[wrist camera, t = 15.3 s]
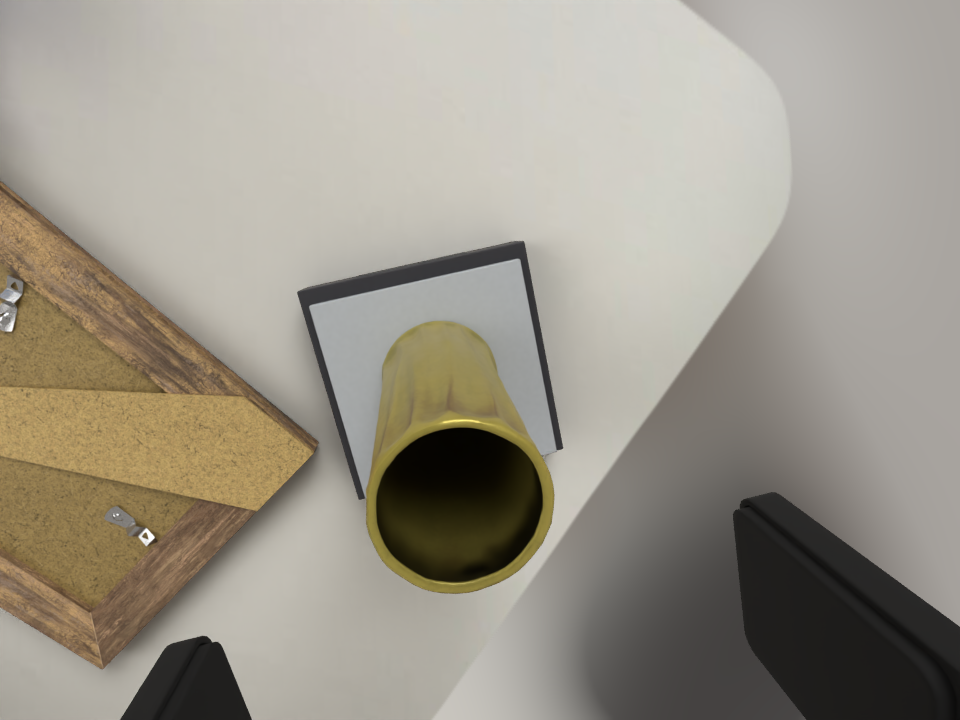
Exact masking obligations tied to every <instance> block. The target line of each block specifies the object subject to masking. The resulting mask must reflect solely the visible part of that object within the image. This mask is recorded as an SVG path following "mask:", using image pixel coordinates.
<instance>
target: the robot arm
mask: <svg viewBox="0 0 960 720" xmlns="http://www.w3.org/2000/svg"><path fill="white" fill-rule="evenodd" d="M733 521H734V531H735V541H736V550H737V560H738V571H739V580H740V590H741V600H742V610H743V620H744V629H745V635H746V638H747V640H748V643H749V645H750V647H751V649H752V651H753V652H754V653H755V655H756V656H757V657H758V659H759V660H760V661H761V663H762V664H763V665H764V666H765V668H766V669H767V670H768V671H769V673H770V674H771V675H772V677H773V678H774V679H775V680H776V682H777V683H778V684H779V685H780V687H781V688H782V689H783V690H784V692H785V693H786V694H787V696H788V697H789V698H790V699H791V701H792V702H793V703H794V704H795V706H796V707H797V708H798V710H799V711H800V712H801V713H802V714H803V716H804V717H805V718H806V720H960V627H959V626H958V625H957V624H955V623H954V622H953V621H951V620H950V619H949V618H947V617H946V616H944V615H943V614H941V613H940V612H939V611H938V610H936V609H935V608H933V607H932V606H931V605H929V604H928V603H927V602H925V601H924V600H923V599H921V598H920V597H918V596H917V595H916V594H914V593H913V592H912V591H910V590H909V589H907V588H906V587H905V586H904V585H902V584H901V583H899V582H898V581H897V580H895V579H894V578H893V577H891V576H890V575H889V574H887V573H886V572H884V571H883V570H882V569H880V568H879V567H878V566H876V565H875V564H874V563H872V562H871V561H869V560H868V559H867V558H865V557H864V556H862V555H861V554H860V553H858V552H857V551H856V550H854V549H853V548H852V547H850V546H849V545H847V544H846V543H845V542H843V541H842V540H841V539H839V538H838V537H837V536H835V535H834V534H833V533H831V532H830V531H829V530H827V529H826V528H824V527H823V526H822V525H820V524H819V523H818V522H816V521H815V520H813V519H812V518H811V517H809V516H808V515H807V514H805V513H804V512H803V511H801V510H800V509H799V508H797V507H796V506H794V505H793V504H792V503H790V502H789V501H788V500H786V499H785V498H784V497H782V496H781V495H779V494H777V493H775V492H771V493H767V494H763V495H759V496H755V497H751V498H747V499H744V500H742V501H741V504H740V509H738V510H735V512H734V514H733ZM120 720H252V719H251V716H250V714H249V711H248V709H247V707H246V704H245V702H244V699H243V697H242V694H241V692H240V689H239V687H238V684H237V682H236V679H235V677H234V675H233V672H232V670H231V667H230V665H229V662H228V660H227V657H226V655H225V652H224V650H223V648H222V646H221V644H220V643H218V642H213V643H212V641H211V640H210V639H209V638H208V637H207V636H200V637H196V638H192V639H188V640H184V641H180V642H176V643H173V644H170V645H168V646H167V647H166V648H165V649H164V651H163V652H162V654H161V655H160V657H159V659H158V660H157V662H156V663H155V665H154V667H153V668H152V670H151V671H150V673H149V675H148V676H147V678H146V679H145V681H144V683H143V684H142V686H141V687H140V689H139V691H138V692H137V694H136V695H135V697H134V699H133V700H132V702H131V703H130V705H129V707H128V708H127V710H126V711H125V713H124V715H123V716H122V718H121V719H120Z"/></svg>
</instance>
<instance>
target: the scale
mask: <svg viewBox="0 0 960 720" xmlns="http://www.w3.org/2000/svg"><path fill="white" fill-rule="evenodd" d="M297 294H298V297H299V300H300V304H301V307H302V310H303V314H304V317H305V320H306V324H307V327H308V331H309V334H310V337H311V341H312V344H313V347H314V351H315V354H316V357H317V361H318V364H319V368H320V371H321V374H322V378H323V381H324V384H325V388H326V391H327V394H328V398H329V401H330V405H331V408H332V411H333V415H334V418H335V421H336V425H337V428H338V431H339V435H340V438H341V442H342V445H343V448H344V452H345V455H346V458H347V462H348V465H349V468H350V472H351V475H352V478H353V482H354V485H355V489H356V492H357V495H358V499H359V500H360V499H364V498H365V499H366V488H367V485H368V481H369V477H370V471H371V464H372V455H373V449H374V443H375V436H376V428H377V422H378V414H379V405H380V398H381V391H382V366H383V363H384V360H385V358H386V355H387V353H388V351H389V349H390V348H391V346H392V345H393V344H394V342H395V341H396V340H397V339H398V338H399V337H400V336H401V335H402V334H404V333H405V332H406V331H408V330H410V329H411V328H413V327H415V326H417V325H420V324H422V323H426V322H431V321H450V322H455V323H458V324H461V325H464V326H466V327H468V328H470V329H471V330H473V331H474V332H476V333H477V334H478V335H479V336H480V337H482V338H483V339H484V341H485V342H486V343H487V344H488V346H489V347H490V349H491V351H492V353H493V356H494V359H495V362H496V365H497V371H498V376H499V377H500V379H501V381H502V383H503V385H504V387H505V389H506V391H507V393H508V395H509V397H510V398H511V400H512V402H513V404H514V406H515V408H516V409H517V411H518V413H519V415H520V417H521V418H522V420H523V422H524V425H525V427H526V429H527V431H528V434H529V435H530V437H531V439H532V440H533V442H534V443H535V445H536V447H537V449H538V450H539V452H540V454H541V456H542V455H546V454H550V453H554V452H557V450H560V449H563V445H562V440H561V434H560V429H559V424H558V419H557V413H556V408H555V403H554V397H553V392H552V387H551V381H550V376H549V371H548V365H547V360H546V355H545V349H544V344H543V339H542V333H541V328H540V323H539V318H538V312H537V307H536V302H535V296H534V291H533V286H532V280H531V275H530V270H529V264H528V259H527V254H526V248H525V243H524V241H514V242H509V243H505V244H500V245H496V246H491V247H487V248H482V249H478V250H473V251H469V252H462V253H458V254H453V255H449V256H444V257H440V258H435V259H431V260H426V261H422V262H418V263H413V264H409V265H404V266H400V267H395V268H391V269H386V270H382V271H377V272H373V273H368V274H364V275H359V276H356V277H352V278H347V279H343V280H338V281H334V282H329V283H325V284H320V285H316V286H311V287H307V288H305V289H302V290H300V291H298V292H297Z"/></svg>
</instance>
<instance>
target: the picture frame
mask: <svg viewBox="0 0 960 720" xmlns="http://www.w3.org/2000/svg"><path fill="white" fill-rule="evenodd" d="M318 443H319V442H318V441H317V440H316V439H315V438H313V437H312V436H311V435H310V434H308V433H307V432H306V431H305V430H304V429H302V428H301V427H300V426H299V425H297V424H296V423H295V422H294V421H293V420H291V419H290V418H289V417H288V416H286V415H285V414H284V413H283V412H282V411H280V410H279V409H278V408H277V407H276V406H274V405H273V404H272V403H271V402H269V401H268V400H267V399H266V398H265V397H263V396H262V395H261V394H260V393H258V392H257V391H256V390H255V389H254V388H252V387H251V386H250V385H249V384H247V383H246V382H245V381H244V380H243V379H241V378H240V377H239V376H238V375H236V374H235V373H234V372H233V371H232V370H230V369H229V368H228V367H227V366H225V365H224V364H223V363H222V362H221V361H219V360H218V359H217V358H216V357H214V356H213V355H212V354H211V353H210V352H208V351H207V350H206V349H205V348H203V347H202V346H201V345H200V344H199V343H197V342H196V341H195V340H194V339H193V338H191V337H190V336H189V335H188V334H186V333H185V332H184V331H183V330H182V329H180V328H179V327H178V326H177V325H175V324H174V323H173V322H172V321H171V320H169V319H168V318H167V317H166V316H164V315H163V314H162V313H161V312H160V311H158V310H157V309H156V308H155V307H153V306H152V305H151V304H150V303H149V302H147V301H146V300H145V299H144V298H142V297H141V296H140V295H139V294H138V293H136V292H135V291H134V290H133V289H131V288H130V287H129V286H128V285H127V284H125V283H124V282H123V281H122V280H120V279H119V278H118V277H117V276H116V275H114V274H113V273H112V272H111V271H110V270H108V269H107V268H106V267H105V266H103V265H102V264H101V263H100V262H99V261H97V260H96V259H95V258H94V257H92V256H91V255H90V254H89V253H88V252H86V251H85V250H84V249H83V248H81V247H80V246H79V245H78V244H77V243H75V242H74V241H73V240H72V239H70V238H69V237H68V236H67V235H66V234H64V233H63V232H62V231H61V230H59V229H58V228H57V227H56V226H55V225H53V224H52V223H51V222H50V221H48V220H47V219H46V218H45V217H44V216H42V215H41V214H40V213H39V212H37V211H36V210H35V209H34V208H33V207H31V206H30V205H29V204H28V203H27V202H25V201H24V200H23V199H22V198H20V197H19V196H18V195H17V194H16V193H14V192H13V191H12V190H11V189H9V188H8V187H7V186H6V185H5V184H3V183H2V182H1V181H0V607H1V608H3V609H4V610H6V611H7V612H9V613H11V614H12V615H14V616H16V617H17V618H19V619H21V620H22V621H24V622H25V623H27V624H29V625H30V626H32V627H34V628H35V629H37V630H38V631H40V632H42V633H43V634H45V635H47V636H48V637H50V638H52V639H53V640H55V641H56V642H58V643H60V644H61V645H63V646H65V647H66V648H68V649H69V650H71V651H73V652H74V653H76V654H78V655H79V656H81V657H82V658H84V659H86V660H87V661H89V662H91V663H92V664H94V665H96V666H97V667H99V668H100V669H103V668H105V666H106V665H107V664H108V663H109V662H110V661H111V660H112V659H113V658H114V657H115V656H116V655H117V654H118V653H119V652H120V651H121V650H122V649H123V648H124V647H125V646H126V645H127V644H128V643H129V642H130V641H131V640H132V639H133V638H134V637H135V636H136V635H137V634H138V633H139V632H140V631H141V630H142V629H143V627H144V626H145V625H146V624H147V623H148V622H149V621H150V620H151V619H152V618H153V617H154V616H155V615H156V614H157V613H158V612H159V611H160V610H161V609H162V608H163V607H164V606H165V605H166V604H167V603H168V602H169V601H170V600H171V599H172V598H173V597H174V596H175V595H176V594H177V593H178V592H179V591H180V590H181V588H182V587H183V586H184V585H185V584H186V583H187V582H188V581H189V580H190V579H191V578H192V577H193V576H194V575H195V574H196V573H197V572H198V571H199V570H200V569H201V568H202V567H203V566H204V565H205V564H206V563H207V562H208V561H209V560H210V559H211V558H212V557H213V556H214V555H215V554H216V553H217V552H218V550H219V549H220V548H221V547H222V546H223V545H224V544H225V543H226V542H227V541H228V540H229V539H230V538H231V537H232V536H233V535H234V534H235V533H236V532H237V531H238V530H239V529H240V528H241V527H242V526H243V525H244V524H245V523H246V522H247V521H248V520H249V519H250V518H251V517H252V516H253V515H254V514H255V513H256V511H258V510H259V509H260V508H261V507H262V506H263V505H264V504H265V503H266V502H267V501H268V500H269V499H270V498H271V496H272V495H273V494H274V493H275V492H276V491H277V490H278V489H279V488H280V487H281V486H282V485H283V484H284V483H285V482H286V481H287V480H288V479H289V478H290V477H291V476H292V475H293V474H294V473H295V472H296V471H297V470H298V469H299V468H300V467H301V466H302V465H303V464H304V463H305V462H306V461H307V460H308V459H309V458H310V457H311V455H312V454H313V453H314V452H315V450H316V447H317V445H318Z"/></svg>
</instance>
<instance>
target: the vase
mask: <svg viewBox="0 0 960 720" xmlns="http://www.w3.org/2000/svg"><path fill="white" fill-rule="evenodd" d="M366 504H367V506H366V524H367V529H368V533H369V536H370V538H371V540H372V542H373V545H374V547H375V549H376V551H377V553H378V555H379V556H380V558H381V560H382V561H383V562H384V563H385V564H386V566H387V567H388V568H390V569H391V570H392V571H393V572H395V573H396V574H398V575H399V576H401V577H402V578H404V579H405V580H407V581H408V582H410V583H412V584H413V585H415V586H418V587H420V588H422V589H425V590H428V591H432V592H439V593H451V594H458V593H469V592H473V591H478V590H481V589H483V588H486V587H489V586H492V585H494V584H497V583H499V582H501V581H503V580H505V579H507V578H508V577H510V576H512V575H513V574H514V573H516V572H517V571H519V570H520V569H521V568H522V567H523V566H524V565H525V564H526V563H527V562H528V561H529V560H530V559H531V557H532V556H533V555H534V554H535V553H536V551H537V550H538V549H539V547H540V546H541V545H542V543H543V541H544V539H545V537H546V534H547V532H548V530H549V528H550V525H551V523H552V515H553V508H554V488H553V482H552V479H551V475H550V472H549V470H548V468H547V466H546V464H545V462H544V460H543V458H542V456H541V454H540V452H539V450H538V449H537V447H536V445H535V443H534V442H533V440H532V439H531V437H530V435H529V434H528V431H527V429H526V427H525V425H524V422H523V420H522V418H521V417H520V415H519V413H518V411H517V409H516V408H515V406H514V404H513V402H512V400H511V398H510V397H509V395H508V393H507V391H506V389H505V387H504V385H503V383H502V381H501V379H500V377H499V376H498V371H497V365H496V362H495V359H494V356H493V353H492V351H491V349H490V347H489V346H488V344H487V343H486V342H485V341H484V339H483V338H482V337H480V336H479V335H478V334H477V333H476V332H474V331H473V330H471V329H470V328H468V327H466V326H464V325H461V324H458V323H455V322H450V321H431V322H426V323H422V324H420V325H417V326H415V327H413V328H411V329H410V330H408V331H406V332H405V333H404V334H402V335H401V336H400V337H399V338H398V339H397V340H396V341H395V342H394V344H393V345H392V346H391V348H390V349H389V351H388V353H387V355H386V358H385V360H384V363H383V366H382V391H381V398H380V405H379V414H378V422H377V428H376V436H375V443H374V449H373V455H372V464H371V471H370V477H369V481H368V485H367V488H366Z"/></svg>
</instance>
